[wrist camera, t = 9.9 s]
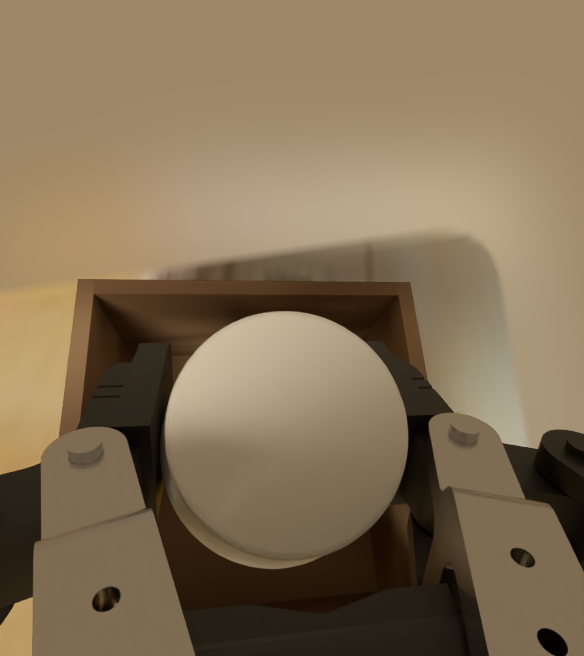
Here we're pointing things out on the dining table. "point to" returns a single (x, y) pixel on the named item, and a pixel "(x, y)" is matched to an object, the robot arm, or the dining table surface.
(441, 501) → the robot arm
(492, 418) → the dining table surface
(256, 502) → the supplement bottle
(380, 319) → the wooden box
